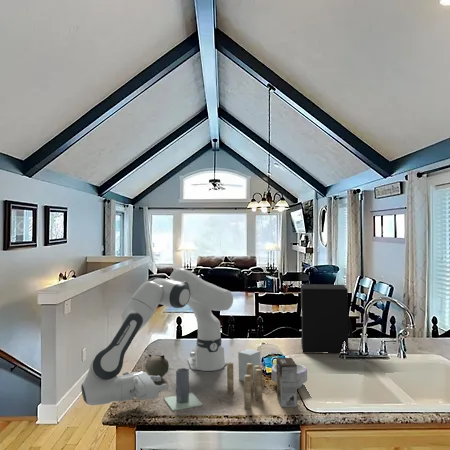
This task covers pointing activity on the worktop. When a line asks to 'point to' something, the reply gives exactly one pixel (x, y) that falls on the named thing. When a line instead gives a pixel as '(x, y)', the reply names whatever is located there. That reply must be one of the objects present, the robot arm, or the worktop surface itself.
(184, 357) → the worktop surface
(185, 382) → the blue gray column
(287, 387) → the coffee box
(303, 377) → the paper bowls
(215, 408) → the worktop surface
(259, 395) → the spacer field
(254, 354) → the supplement box
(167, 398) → the mat
